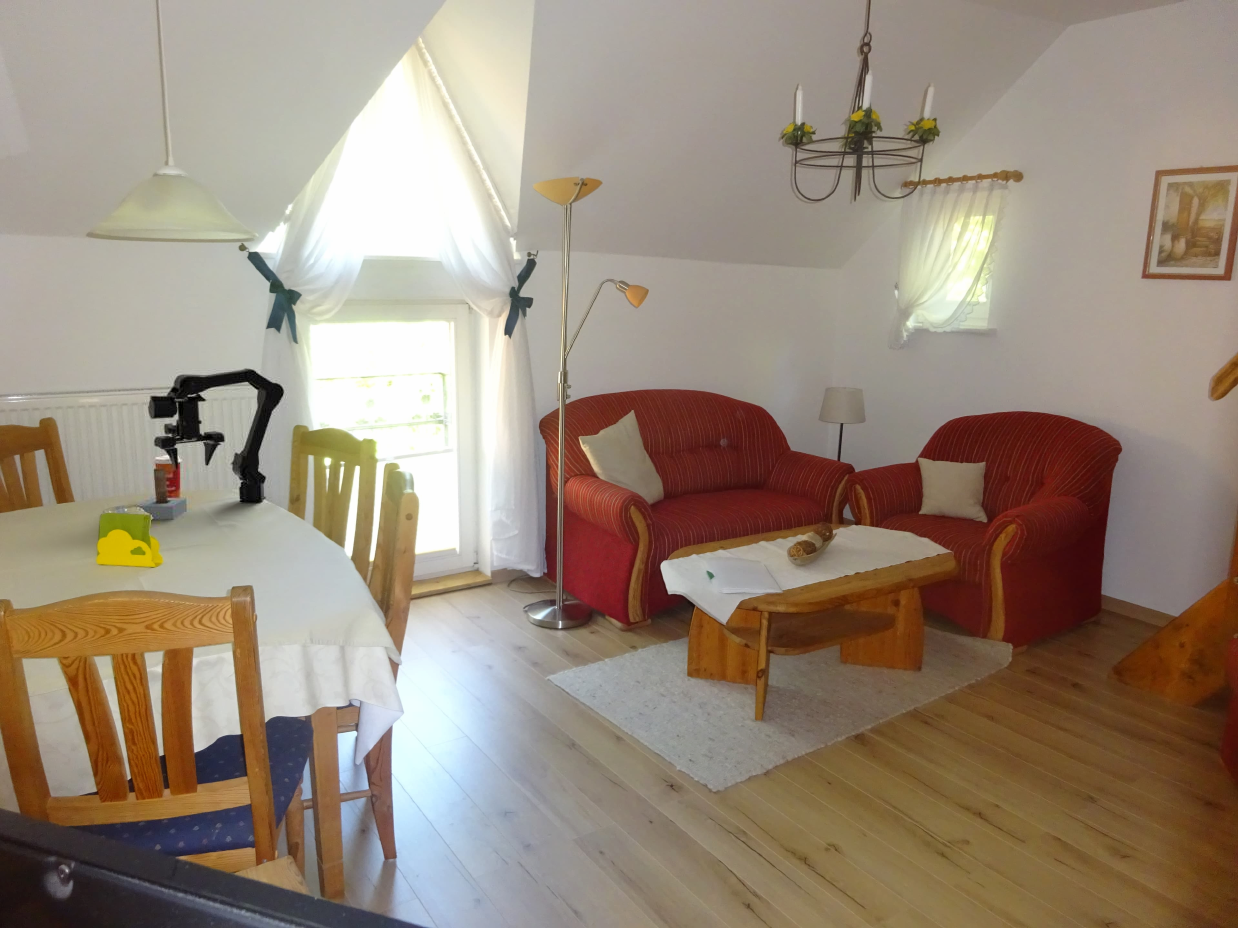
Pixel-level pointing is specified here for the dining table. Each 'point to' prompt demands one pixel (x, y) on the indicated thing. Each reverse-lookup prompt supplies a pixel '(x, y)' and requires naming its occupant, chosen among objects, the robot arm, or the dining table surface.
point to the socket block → (165, 508)
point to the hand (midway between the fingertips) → (191, 467)
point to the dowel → (160, 486)
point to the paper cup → (170, 475)
